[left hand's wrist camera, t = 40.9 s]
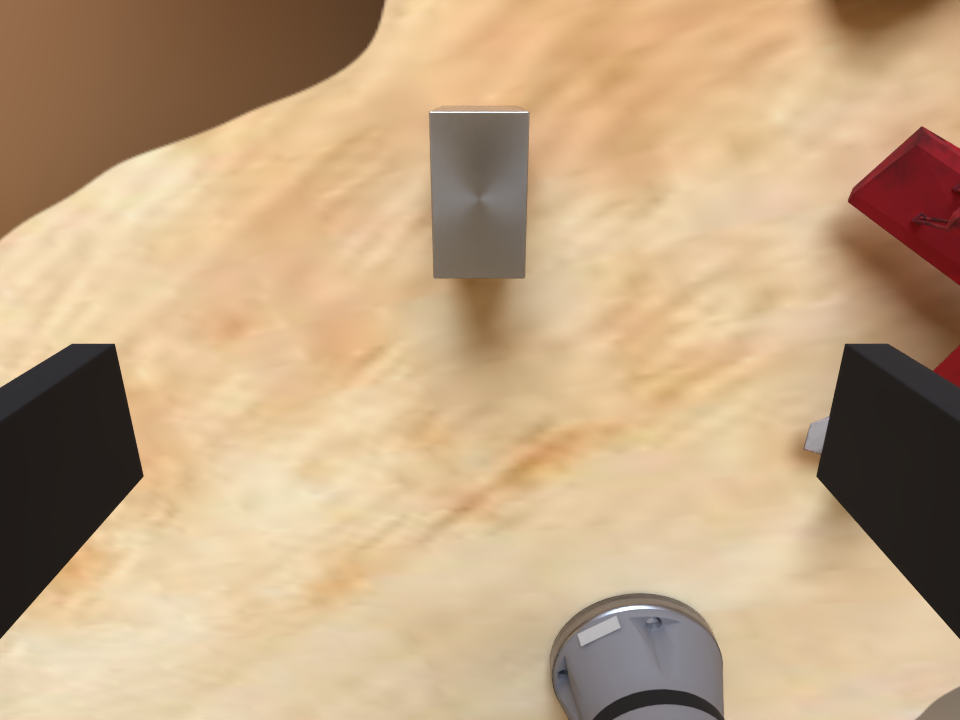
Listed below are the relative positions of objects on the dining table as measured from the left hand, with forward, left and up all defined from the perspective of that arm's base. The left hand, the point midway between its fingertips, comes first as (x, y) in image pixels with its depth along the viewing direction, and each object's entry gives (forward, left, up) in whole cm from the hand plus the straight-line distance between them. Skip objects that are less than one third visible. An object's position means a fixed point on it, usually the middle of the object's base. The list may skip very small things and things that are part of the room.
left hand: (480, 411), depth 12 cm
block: (0, 0, -36) cm, 36 cm away
